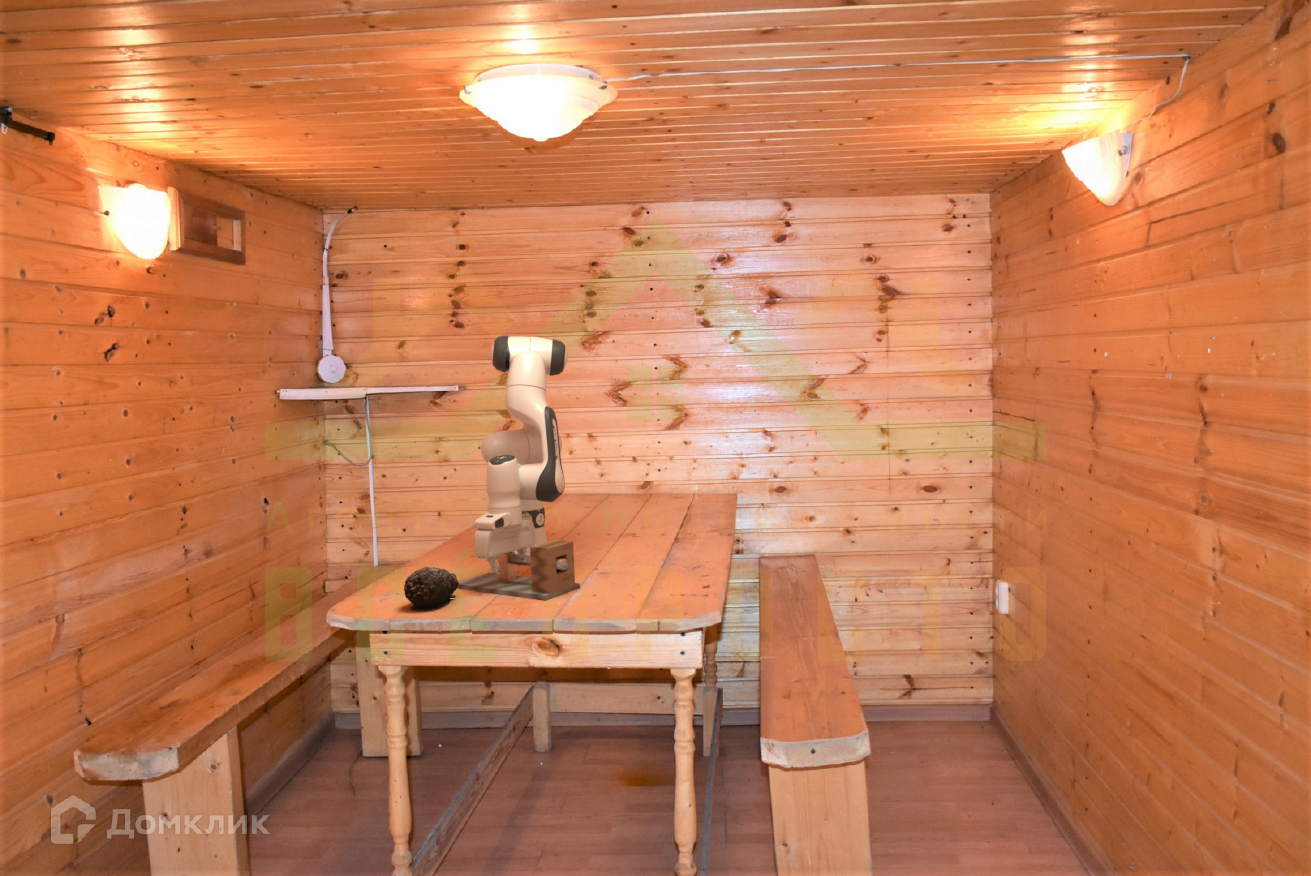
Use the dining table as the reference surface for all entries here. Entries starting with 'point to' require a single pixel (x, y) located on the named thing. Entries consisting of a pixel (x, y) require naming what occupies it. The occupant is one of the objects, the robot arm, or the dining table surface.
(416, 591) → the pine cone
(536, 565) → the eye post
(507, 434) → the robot arm
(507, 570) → the hook rod
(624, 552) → the dining table surface
